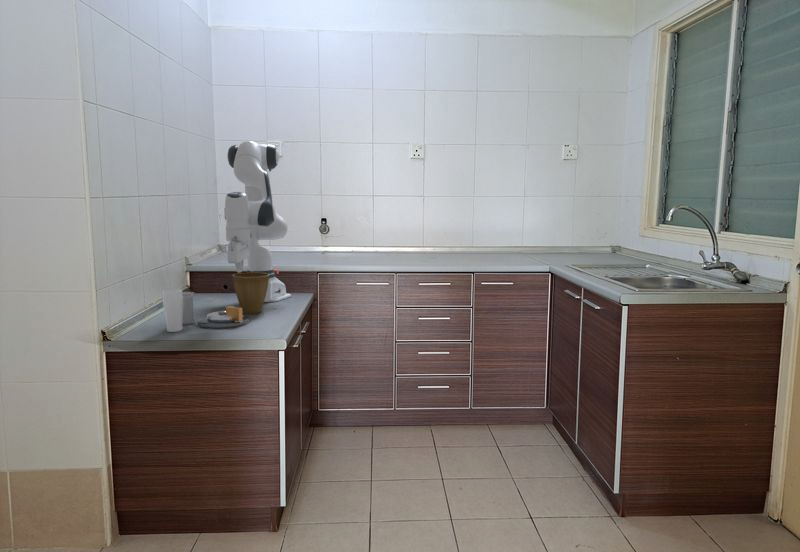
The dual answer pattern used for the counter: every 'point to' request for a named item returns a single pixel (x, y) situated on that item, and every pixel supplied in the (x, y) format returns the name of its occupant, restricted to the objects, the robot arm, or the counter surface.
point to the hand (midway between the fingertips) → (239, 271)
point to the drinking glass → (173, 309)
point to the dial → (226, 315)
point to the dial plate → (212, 325)
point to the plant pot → (251, 290)
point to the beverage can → (187, 309)
